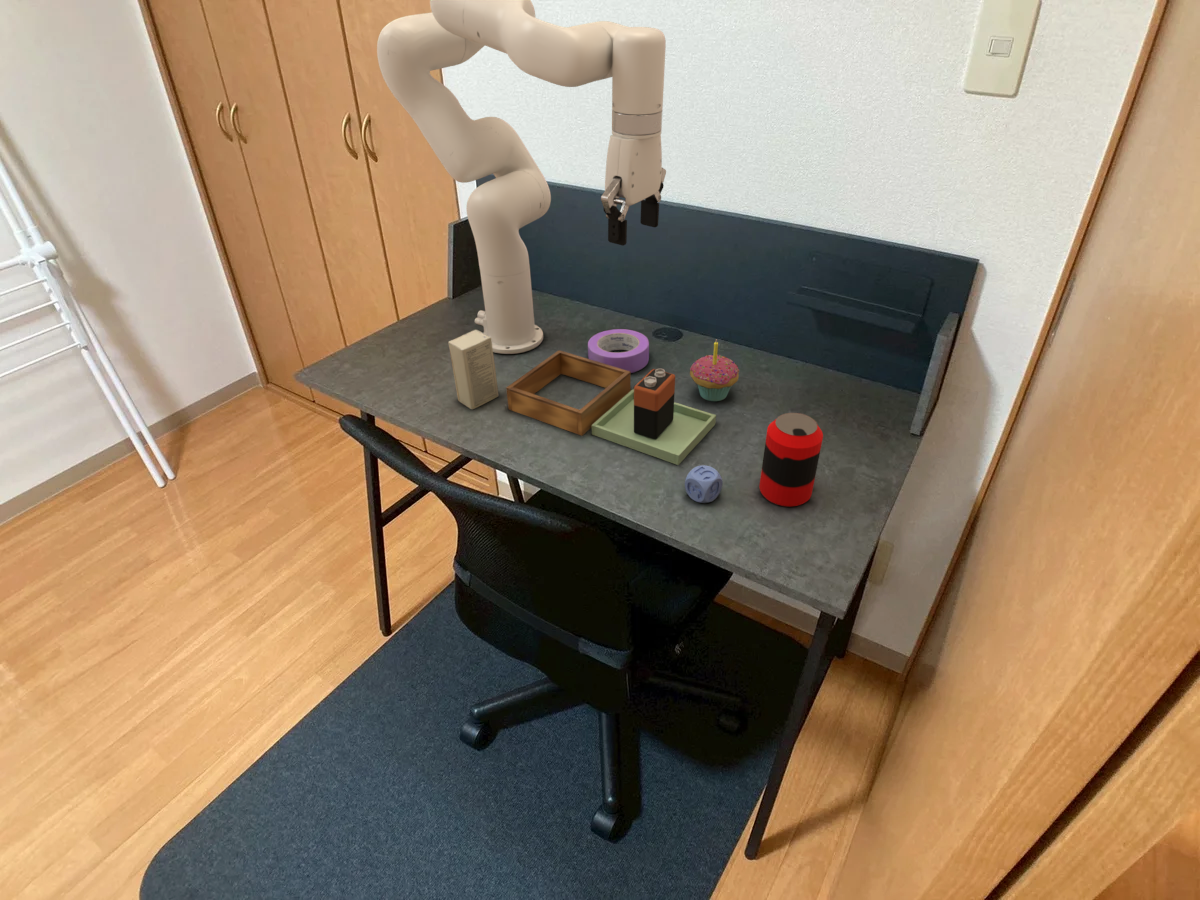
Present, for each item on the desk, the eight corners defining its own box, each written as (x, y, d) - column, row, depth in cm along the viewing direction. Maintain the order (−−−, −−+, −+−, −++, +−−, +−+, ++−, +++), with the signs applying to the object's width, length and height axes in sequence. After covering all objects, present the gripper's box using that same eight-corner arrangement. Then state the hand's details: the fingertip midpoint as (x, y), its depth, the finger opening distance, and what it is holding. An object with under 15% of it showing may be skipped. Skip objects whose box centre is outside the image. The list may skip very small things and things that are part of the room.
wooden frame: (508, 409, 126) (505, 387, 123) (560, 371, 137) (558, 349, 134) (582, 436, 119) (581, 413, 116) (630, 393, 130) (630, 371, 127)
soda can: (764, 508, 103) (774, 440, 96) (754, 475, 110) (763, 409, 102) (817, 507, 103) (831, 439, 96) (804, 474, 109) (817, 408, 102)
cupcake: (735, 409, 124) (741, 347, 117) (686, 404, 126) (689, 343, 119) (737, 383, 131) (744, 324, 124) (691, 380, 133) (694, 320, 126)
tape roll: (576, 365, 138) (575, 347, 136) (609, 340, 146) (609, 323, 144) (628, 381, 133) (628, 363, 131) (659, 355, 141) (660, 337, 138)
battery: (632, 433, 119) (632, 381, 113) (651, 413, 123) (652, 362, 117) (656, 441, 117) (657, 388, 111) (674, 420, 121) (676, 368, 115)
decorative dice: (701, 482, 109) (702, 461, 106) (722, 494, 106) (724, 473, 104) (683, 494, 106) (684, 473, 104) (704, 507, 104) (705, 485, 102)
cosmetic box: (485, 388, 132) (476, 328, 125) (500, 397, 129) (492, 336, 122) (456, 401, 129) (446, 340, 121) (471, 411, 126) (462, 349, 119)
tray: (591, 434, 119) (591, 425, 118) (632, 398, 128) (632, 388, 127) (678, 465, 112) (678, 455, 111) (715, 424, 121) (716, 415, 120)
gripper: (645, 108, 116) (642, 214, 126) (583, 131, 104) (584, 245, 115) (686, 115, 112) (679, 223, 123) (626, 138, 101) (624, 256, 111)
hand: (633, 234), depth 119 cm, fingers open, 9 cm apart
